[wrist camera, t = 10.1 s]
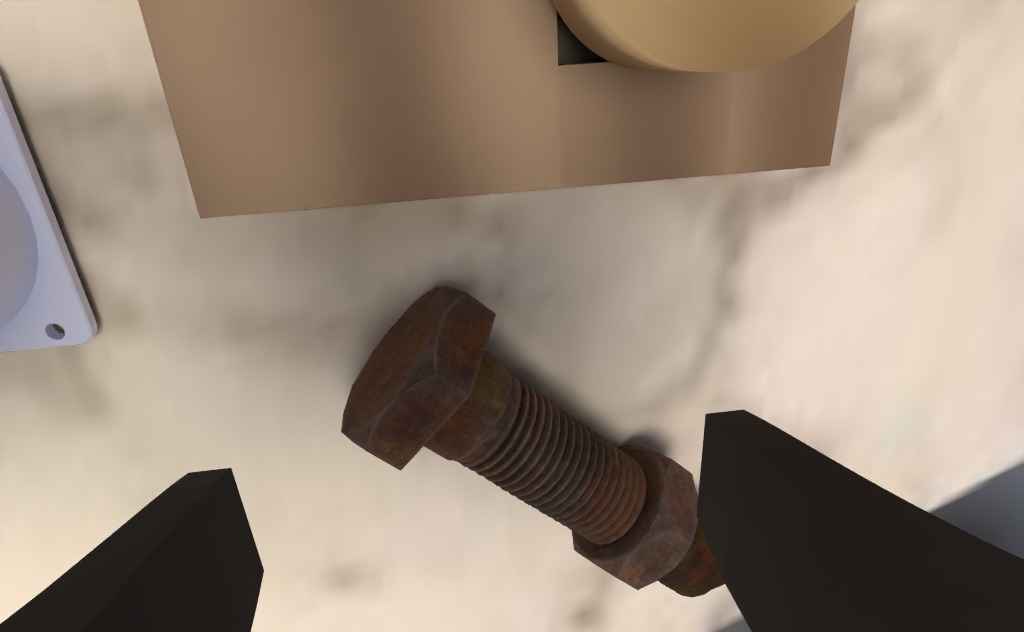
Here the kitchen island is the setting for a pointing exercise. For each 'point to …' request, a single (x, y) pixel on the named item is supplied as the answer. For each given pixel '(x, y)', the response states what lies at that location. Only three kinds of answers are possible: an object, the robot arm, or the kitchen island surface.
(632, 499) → the bolt
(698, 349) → the kitchen island surface
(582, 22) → the oak peg
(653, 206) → the kitchen island surface
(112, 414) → the kitchen island surface
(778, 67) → the brown flat rectangular block
